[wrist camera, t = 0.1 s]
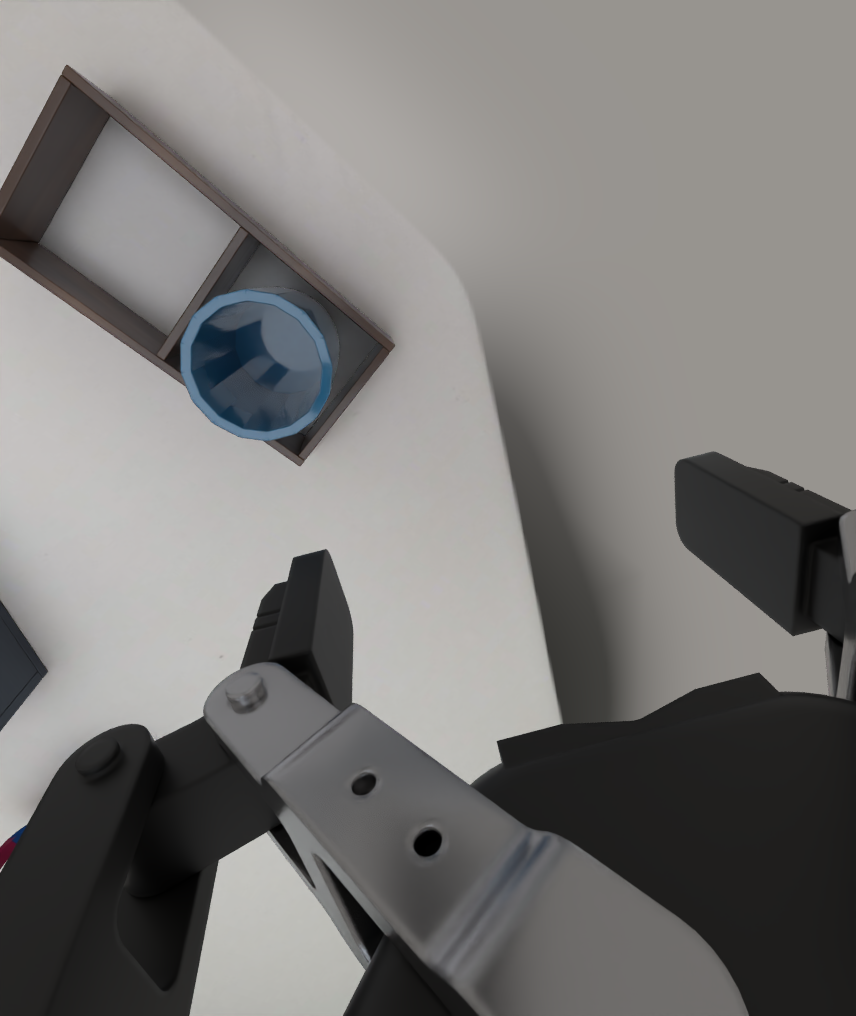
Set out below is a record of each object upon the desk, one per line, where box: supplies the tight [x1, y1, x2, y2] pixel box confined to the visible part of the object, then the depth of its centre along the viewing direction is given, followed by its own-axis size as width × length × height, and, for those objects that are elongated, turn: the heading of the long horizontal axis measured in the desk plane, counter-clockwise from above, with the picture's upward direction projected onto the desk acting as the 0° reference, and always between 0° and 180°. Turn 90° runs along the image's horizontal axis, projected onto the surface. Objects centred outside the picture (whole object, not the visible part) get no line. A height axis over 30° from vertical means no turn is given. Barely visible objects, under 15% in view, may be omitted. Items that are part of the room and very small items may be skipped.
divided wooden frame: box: [0, 65, 395, 466], centre depth 24 cm, size 15×7×4 cm, turn 49°
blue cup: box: [180, 286, 340, 441], centre depth 23 cm, size 5×5×8 cm
